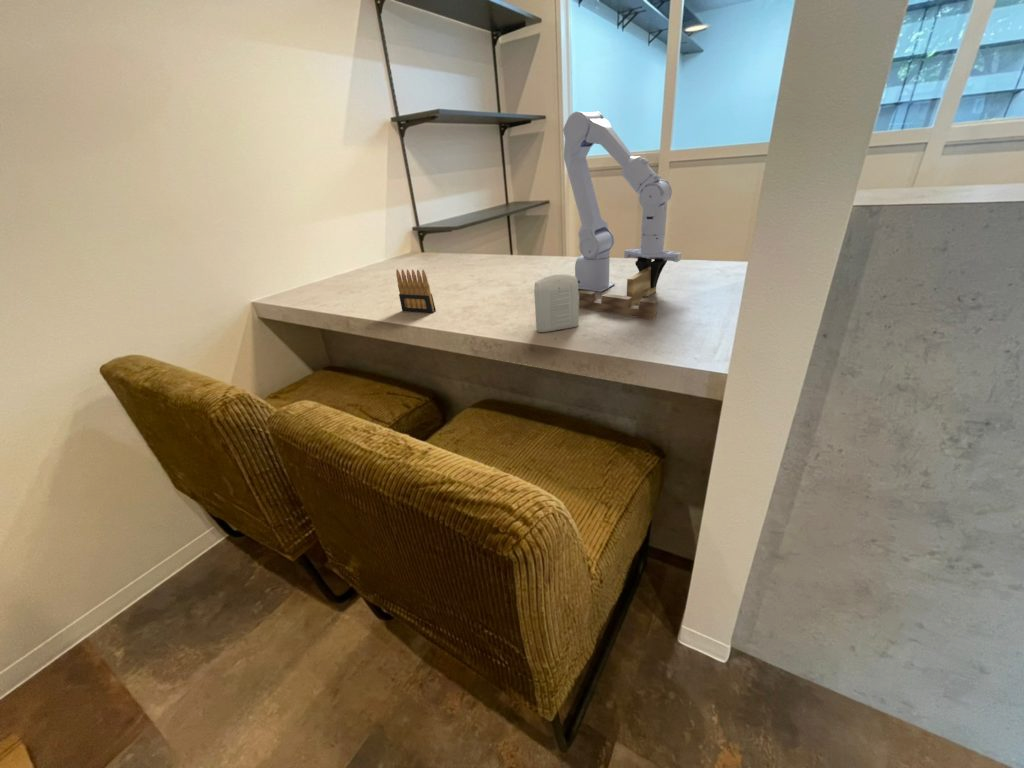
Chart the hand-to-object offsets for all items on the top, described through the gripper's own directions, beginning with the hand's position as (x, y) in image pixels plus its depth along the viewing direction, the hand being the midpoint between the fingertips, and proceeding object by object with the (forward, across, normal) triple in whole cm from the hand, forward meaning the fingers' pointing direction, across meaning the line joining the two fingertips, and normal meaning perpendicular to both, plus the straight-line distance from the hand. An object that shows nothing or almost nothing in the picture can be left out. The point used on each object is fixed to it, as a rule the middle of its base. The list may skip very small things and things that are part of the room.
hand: (649, 286), depth 112 cm
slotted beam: (+2, -1, -16) cm, 17 cm away
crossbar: (+2, 0, -4) cm, 5 cm away
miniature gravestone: (+2, -8, -32) cm, 33 cm away
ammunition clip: (+2, -51, -40) cm, 65 cm away
